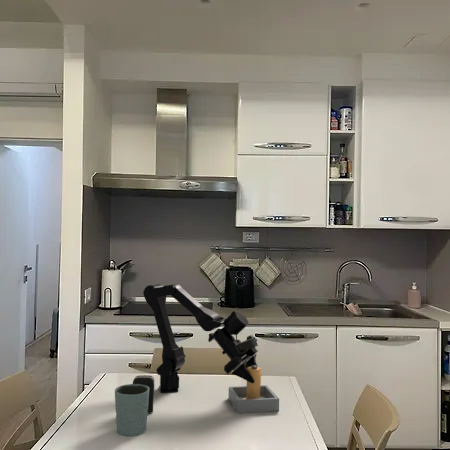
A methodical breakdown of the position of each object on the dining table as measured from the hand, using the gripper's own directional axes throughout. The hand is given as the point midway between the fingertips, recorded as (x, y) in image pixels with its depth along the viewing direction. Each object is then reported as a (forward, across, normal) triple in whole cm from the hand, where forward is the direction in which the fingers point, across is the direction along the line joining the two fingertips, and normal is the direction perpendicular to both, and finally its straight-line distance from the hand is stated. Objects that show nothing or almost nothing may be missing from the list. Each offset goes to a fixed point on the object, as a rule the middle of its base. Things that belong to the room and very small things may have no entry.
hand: (257, 379), depth 163 cm
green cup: (-12, -36, +25) cm, 45 cm away
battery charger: (-16, -22, +28) cm, 39 cm away
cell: (+4, 0, +6) cm, 7 cm away
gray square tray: (+5, 0, +7) cm, 9 cm away
